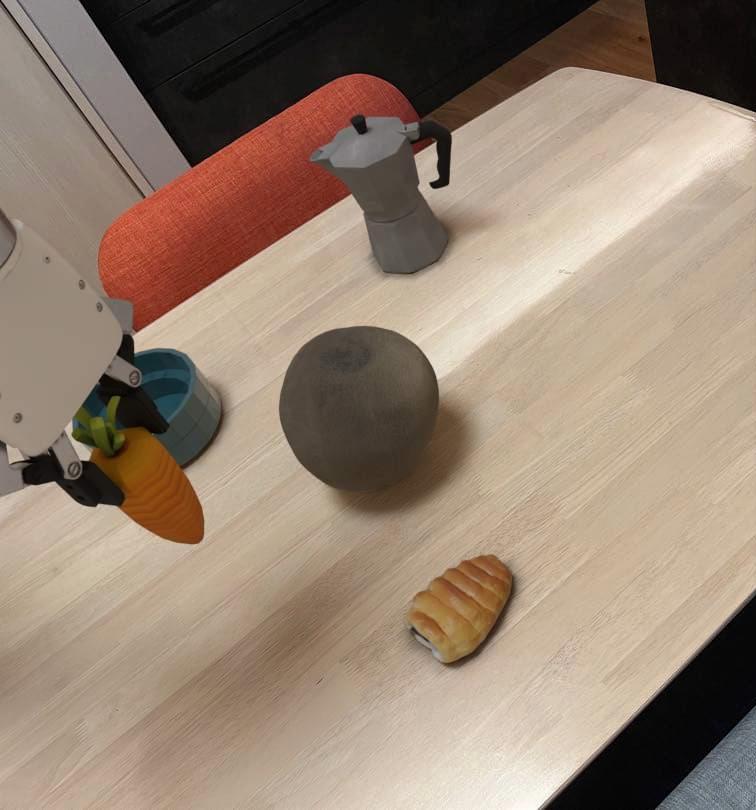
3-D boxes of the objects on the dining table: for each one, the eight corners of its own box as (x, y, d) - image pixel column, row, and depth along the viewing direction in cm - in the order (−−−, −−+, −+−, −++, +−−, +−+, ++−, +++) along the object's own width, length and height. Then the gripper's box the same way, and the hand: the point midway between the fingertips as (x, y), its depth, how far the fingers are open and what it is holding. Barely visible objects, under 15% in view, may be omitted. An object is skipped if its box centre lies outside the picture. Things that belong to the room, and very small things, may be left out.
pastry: (477, 549, 79) (466, 526, 76) (534, 590, 75) (524, 567, 73) (401, 631, 76) (386, 610, 73) (457, 678, 72) (443, 658, 69)
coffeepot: (356, 287, 105) (291, 157, 92) (360, 235, 111) (300, 106, 98) (485, 258, 103) (438, 122, 90) (482, 207, 110) (438, 73, 96)
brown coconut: (429, 530, 81) (370, 429, 70) (296, 509, 86) (221, 410, 75) (480, 408, 89) (435, 299, 78) (355, 394, 94) (296, 290, 83)
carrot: (163, 530, 68) (40, 402, 56) (226, 501, 68) (117, 369, 57) (171, 582, 64) (42, 458, 53) (237, 552, 65) (123, 422, 54)
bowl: (82, 478, 95) (47, 444, 90) (144, 381, 103) (114, 345, 98) (187, 488, 91) (156, 453, 86) (243, 387, 99) (217, 350, 94)
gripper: (-22, 149, 52) (145, 362, 65) (-247, 377, 42) (7, 572, 55) (84, 146, 49) (234, 368, 63) (-127, 387, 39) (107, 588, 53)
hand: (126, 462), depth 59 cm, fingers closed on carrot, 5 cm apart
